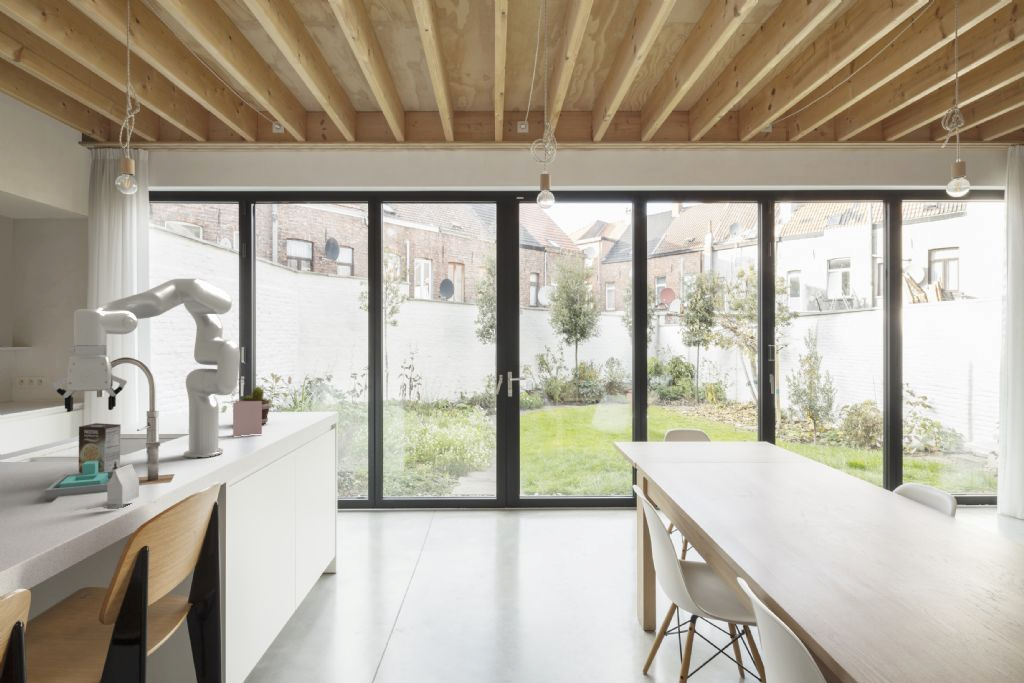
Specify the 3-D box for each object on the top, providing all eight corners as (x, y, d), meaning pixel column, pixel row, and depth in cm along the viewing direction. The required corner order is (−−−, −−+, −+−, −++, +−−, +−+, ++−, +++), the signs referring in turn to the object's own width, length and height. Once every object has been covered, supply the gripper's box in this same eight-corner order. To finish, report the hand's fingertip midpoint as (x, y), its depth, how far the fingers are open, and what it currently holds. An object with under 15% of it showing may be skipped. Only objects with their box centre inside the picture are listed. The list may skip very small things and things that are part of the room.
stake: (135, 481, 165) (135, 440, 165) (174, 477, 169) (174, 438, 169) (129, 490, 156) (129, 446, 156) (170, 486, 160) (170, 444, 160)
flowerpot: (232, 424, 266) (233, 383, 266) (265, 421, 277) (265, 381, 276) (242, 428, 256) (242, 385, 255) (276, 425, 266) (276, 384, 266)
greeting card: (262, 434, 241) (262, 400, 241) (255, 437, 234) (255, 402, 234) (236, 434, 241) (236, 400, 241) (228, 437, 234) (228, 402, 233)
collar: (73, 482, 160) (73, 462, 160) (110, 479, 164) (110, 459, 164) (59, 494, 148) (59, 472, 148) (100, 491, 152) (100, 469, 152)
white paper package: (138, 501, 147) (138, 463, 146) (122, 509, 140) (122, 470, 140) (124, 501, 146) (124, 463, 146) (107, 509, 140) (107, 470, 139)
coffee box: (76, 478, 167) (76, 426, 167) (94, 473, 174) (94, 423, 173) (104, 479, 166) (104, 427, 166) (121, 474, 173) (121, 423, 173)
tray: (64, 485, 160) (64, 474, 160) (122, 480, 166) (122, 470, 166) (45, 501, 145) (45, 490, 145) (109, 495, 151) (109, 484, 151)
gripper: (48, 352, 152) (49, 413, 152) (124, 352, 160) (124, 410, 160) (56, 351, 159) (57, 410, 159) (128, 351, 166) (128, 407, 167)
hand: (90, 410), depth 160 cm, fingers open, 9 cm apart
